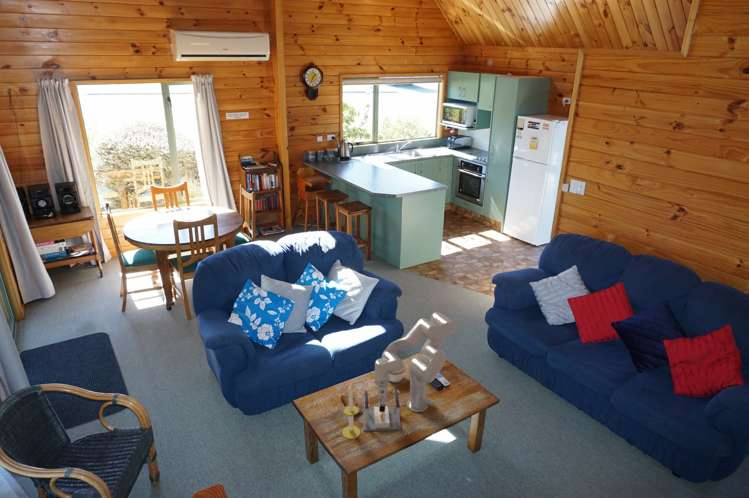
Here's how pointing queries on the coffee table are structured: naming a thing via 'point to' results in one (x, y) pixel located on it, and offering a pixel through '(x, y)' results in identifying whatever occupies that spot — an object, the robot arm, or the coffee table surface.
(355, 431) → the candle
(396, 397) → the dark gray rod
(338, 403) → the coffee table surface
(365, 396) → the dark grey rod
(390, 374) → the lidded bowl
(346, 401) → the sunglasses case
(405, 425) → the coffee table surface
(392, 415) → the board
